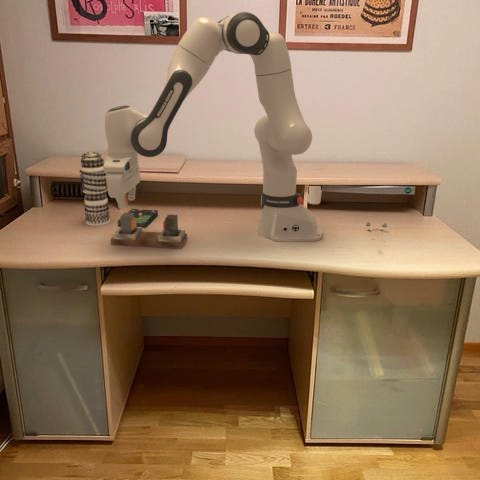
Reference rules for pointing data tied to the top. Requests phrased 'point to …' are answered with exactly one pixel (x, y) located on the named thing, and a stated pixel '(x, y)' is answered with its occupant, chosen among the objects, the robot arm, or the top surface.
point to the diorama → (377, 229)
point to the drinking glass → (314, 191)
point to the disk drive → (142, 217)
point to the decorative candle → (94, 189)
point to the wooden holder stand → (154, 236)
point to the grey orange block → (128, 223)
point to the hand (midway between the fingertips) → (127, 204)
